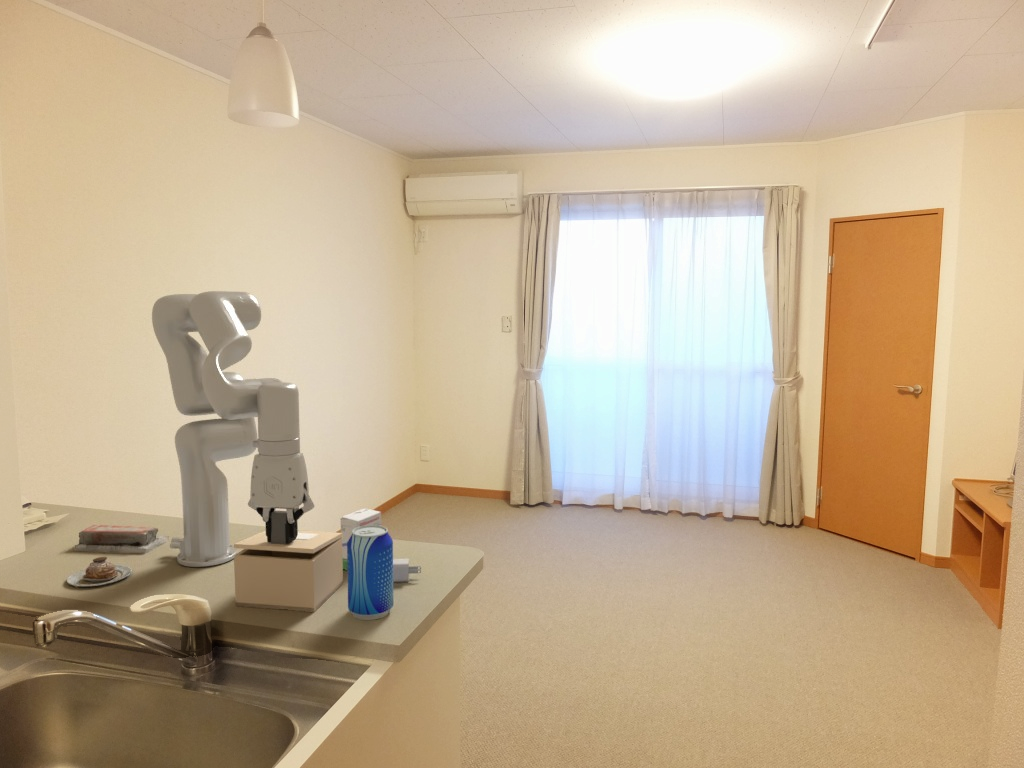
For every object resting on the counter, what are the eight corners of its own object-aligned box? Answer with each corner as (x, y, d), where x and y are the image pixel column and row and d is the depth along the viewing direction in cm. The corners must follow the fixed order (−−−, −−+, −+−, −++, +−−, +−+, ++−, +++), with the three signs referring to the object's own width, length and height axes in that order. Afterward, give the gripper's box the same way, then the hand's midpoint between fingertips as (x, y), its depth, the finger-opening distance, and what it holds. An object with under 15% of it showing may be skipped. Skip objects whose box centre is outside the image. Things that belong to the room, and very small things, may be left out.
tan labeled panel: (233, 548, 137) (234, 512, 136) (269, 532, 150) (270, 500, 150) (313, 553, 134) (314, 517, 134) (342, 536, 148) (342, 504, 148)
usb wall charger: (388, 576, 154) (388, 558, 153) (421, 575, 155) (421, 557, 154) (387, 583, 150) (387, 564, 149) (420, 582, 151) (420, 563, 150)
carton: (235, 606, 138) (233, 555, 137) (270, 578, 151) (269, 532, 150) (314, 612, 135) (313, 561, 134) (342, 583, 149) (342, 537, 148)
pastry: (105, 593, 144) (104, 571, 144) (52, 588, 146) (51, 567, 146) (144, 571, 156) (143, 551, 156) (95, 567, 158) (93, 547, 157)
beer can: (361, 600, 141) (360, 521, 139) (400, 606, 138) (400, 525, 137) (339, 618, 133) (338, 534, 131) (380, 624, 130) (379, 539, 129)
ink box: (358, 573, 155) (357, 520, 154) (340, 569, 157) (339, 517, 156) (382, 561, 162) (382, 510, 161) (365, 557, 165) (364, 507, 163)
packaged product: (70, 532, 166) (98, 520, 176) (72, 553, 167) (99, 539, 177) (145, 535, 165) (169, 522, 175) (146, 555, 166) (169, 541, 176)
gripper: (229, 449, 134) (232, 544, 136) (311, 453, 132) (313, 550, 134) (249, 442, 142) (252, 532, 144) (328, 445, 139) (329, 537, 141)
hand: (281, 539), depth 139 cm, fingers closed on tan labeled panel, 3 cm apart
